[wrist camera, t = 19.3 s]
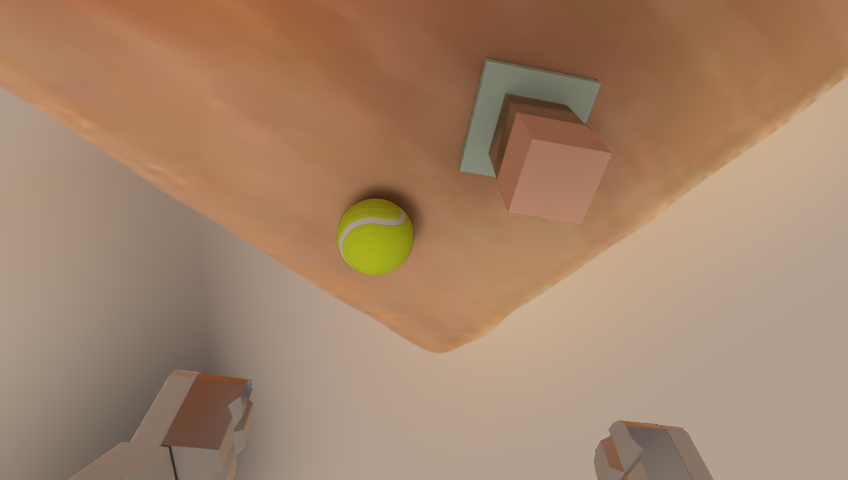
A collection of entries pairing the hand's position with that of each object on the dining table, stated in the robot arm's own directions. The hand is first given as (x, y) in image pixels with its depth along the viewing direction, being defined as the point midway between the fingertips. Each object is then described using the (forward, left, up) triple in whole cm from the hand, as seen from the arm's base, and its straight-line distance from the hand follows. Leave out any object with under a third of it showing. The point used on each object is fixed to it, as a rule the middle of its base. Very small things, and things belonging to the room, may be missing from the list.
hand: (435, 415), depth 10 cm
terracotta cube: (+2, +9, -24) cm, 26 cm away
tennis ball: (+13, -2, -30) cm, 33 cm away
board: (+2, +9, -30) cm, 31 cm away
